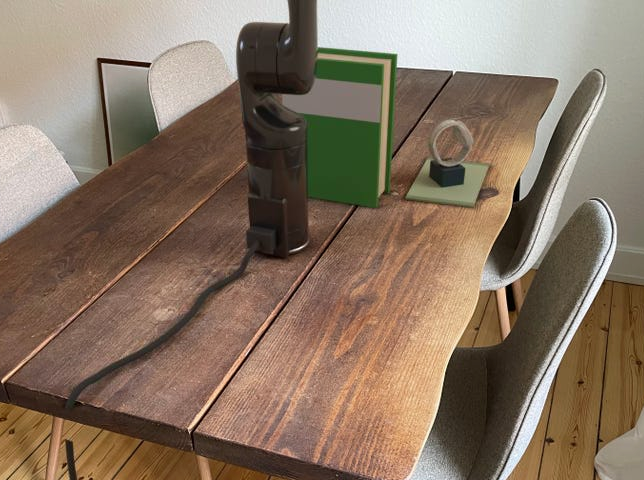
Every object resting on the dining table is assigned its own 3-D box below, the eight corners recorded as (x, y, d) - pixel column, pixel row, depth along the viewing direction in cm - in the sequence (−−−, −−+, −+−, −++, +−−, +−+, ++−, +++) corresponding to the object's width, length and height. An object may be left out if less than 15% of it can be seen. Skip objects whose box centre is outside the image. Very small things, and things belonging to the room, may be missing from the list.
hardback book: (389, 191, 137) (397, 54, 123) (375, 207, 132) (382, 65, 118) (301, 178, 144) (299, 45, 130) (285, 192, 138) (280, 56, 124)
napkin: (472, 207, 131) (473, 205, 131) (404, 199, 134) (405, 197, 134) (489, 165, 146) (489, 163, 146) (427, 159, 150) (427, 157, 149)
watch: (473, 182, 139) (480, 123, 132) (433, 189, 137) (438, 129, 130) (459, 171, 143) (465, 113, 136) (420, 177, 141) (424, 119, 135)
